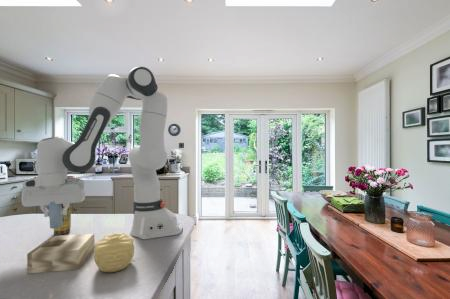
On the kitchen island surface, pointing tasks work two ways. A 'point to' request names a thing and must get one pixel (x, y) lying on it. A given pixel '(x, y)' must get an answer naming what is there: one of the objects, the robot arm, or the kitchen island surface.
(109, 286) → the kitchen island surface
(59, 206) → the pin
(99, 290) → the kitchen island surface
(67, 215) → the sauce bottle
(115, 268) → the pale yellow rounded lump
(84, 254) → the bore block
